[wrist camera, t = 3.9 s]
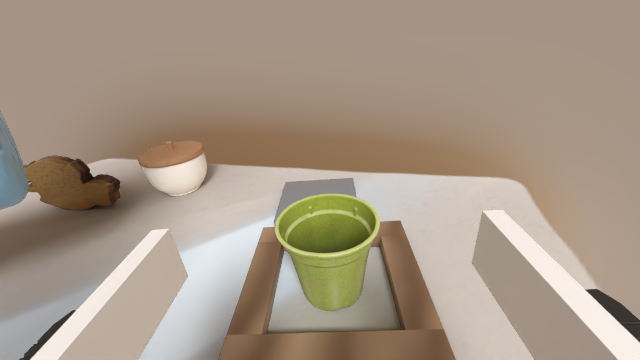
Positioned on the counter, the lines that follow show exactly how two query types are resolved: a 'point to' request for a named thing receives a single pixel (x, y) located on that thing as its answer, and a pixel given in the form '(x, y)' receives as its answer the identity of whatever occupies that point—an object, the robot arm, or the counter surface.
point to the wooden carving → (70, 184)
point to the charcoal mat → (313, 191)
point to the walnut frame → (338, 347)
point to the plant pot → (329, 246)
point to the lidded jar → (175, 167)
